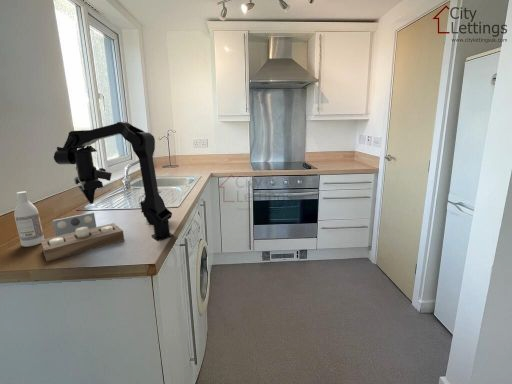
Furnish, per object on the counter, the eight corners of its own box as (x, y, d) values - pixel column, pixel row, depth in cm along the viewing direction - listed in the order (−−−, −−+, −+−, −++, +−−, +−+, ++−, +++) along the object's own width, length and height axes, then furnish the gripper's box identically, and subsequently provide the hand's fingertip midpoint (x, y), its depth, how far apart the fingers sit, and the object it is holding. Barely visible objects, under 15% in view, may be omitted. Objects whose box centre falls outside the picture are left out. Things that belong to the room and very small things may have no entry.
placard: (97, 231, 116) (94, 212, 114) (56, 240, 107) (52, 221, 105) (96, 230, 117) (93, 212, 115) (56, 239, 108) (52, 220, 106)
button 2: (115, 237, 107) (113, 227, 106) (104, 240, 104) (102, 230, 103) (112, 234, 109) (110, 225, 109) (101, 237, 107) (99, 227, 106)
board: (124, 240, 105) (122, 230, 104) (46, 261, 90) (44, 250, 89) (115, 232, 114) (113, 223, 113) (42, 250, 98) (40, 239, 97)
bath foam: (46, 242, 105) (35, 191, 101) (23, 248, 100) (10, 195, 96) (42, 238, 110) (31, 189, 105) (20, 243, 105) (7, 192, 100)
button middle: (91, 238, 101) (89, 228, 100) (78, 242, 98) (76, 231, 97) (88, 235, 104) (86, 225, 103) (76, 238, 101) (74, 228, 100)
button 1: (66, 250, 96) (64, 239, 95) (52, 254, 94) (49, 243, 93) (64, 247, 99) (62, 236, 98) (50, 250, 97) (48, 239, 96)
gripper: (114, 163, 104) (120, 203, 108) (101, 160, 118) (107, 195, 121) (80, 167, 97) (88, 209, 100) (71, 163, 110) (78, 200, 114)
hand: (91, 203), depth 109 cm, fingers closed
